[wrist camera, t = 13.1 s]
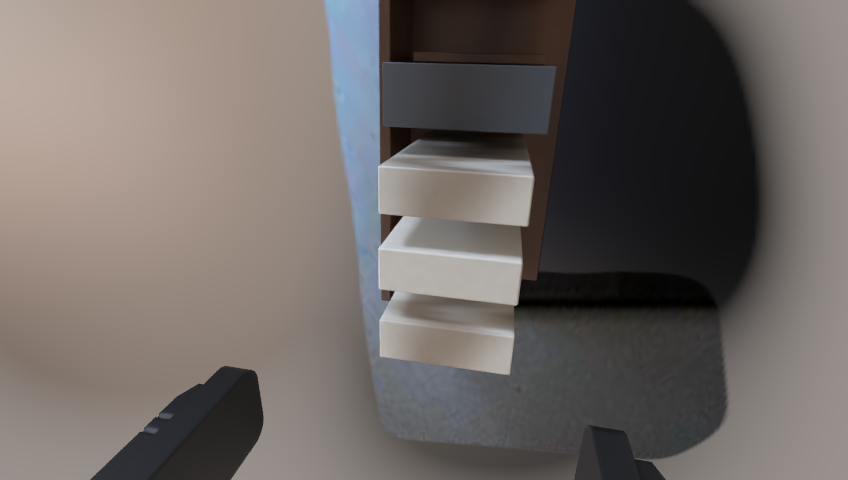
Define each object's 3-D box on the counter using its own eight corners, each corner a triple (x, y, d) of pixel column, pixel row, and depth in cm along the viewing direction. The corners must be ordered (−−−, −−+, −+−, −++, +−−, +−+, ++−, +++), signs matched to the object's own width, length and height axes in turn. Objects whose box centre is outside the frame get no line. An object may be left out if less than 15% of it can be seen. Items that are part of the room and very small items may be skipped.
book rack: (586, -83, 23) (669, -257, 11) (536, 276, 30) (553, 400, 19) (405, -78, 24) (308, -223, 13) (402, 262, 32) (340, 368, 20)
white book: (517, 189, 28) (523, 262, 17) (514, 218, 28) (517, 306, 17) (428, 182, 29) (377, 248, 18) (427, 210, 29) (378, 290, 18)
